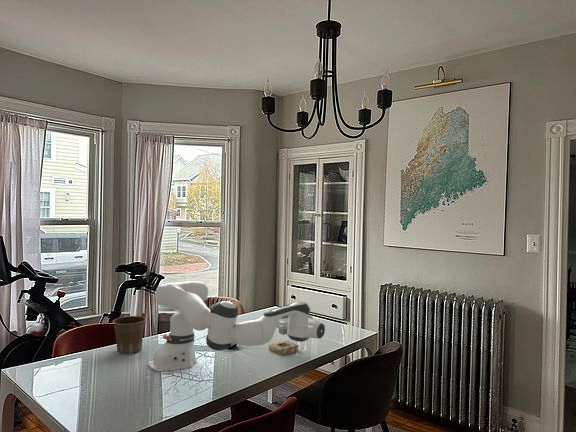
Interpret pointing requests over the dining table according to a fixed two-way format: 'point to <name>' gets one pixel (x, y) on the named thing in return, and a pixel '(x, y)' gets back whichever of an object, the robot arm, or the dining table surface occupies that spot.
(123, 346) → the plant pot
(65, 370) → the dining table surface
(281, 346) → the well block
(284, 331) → the post
